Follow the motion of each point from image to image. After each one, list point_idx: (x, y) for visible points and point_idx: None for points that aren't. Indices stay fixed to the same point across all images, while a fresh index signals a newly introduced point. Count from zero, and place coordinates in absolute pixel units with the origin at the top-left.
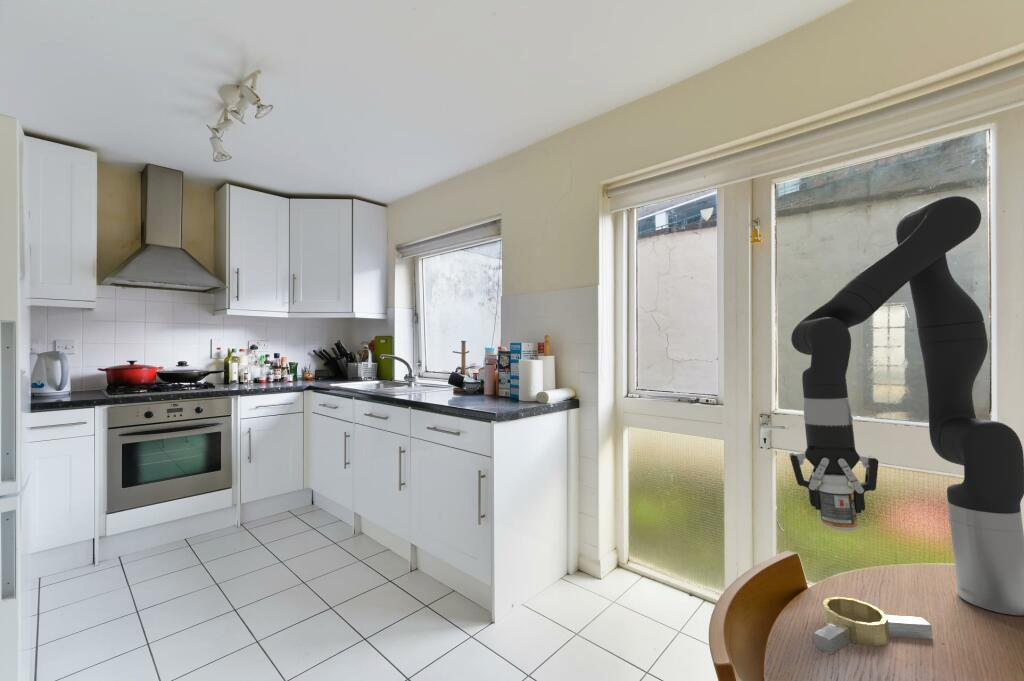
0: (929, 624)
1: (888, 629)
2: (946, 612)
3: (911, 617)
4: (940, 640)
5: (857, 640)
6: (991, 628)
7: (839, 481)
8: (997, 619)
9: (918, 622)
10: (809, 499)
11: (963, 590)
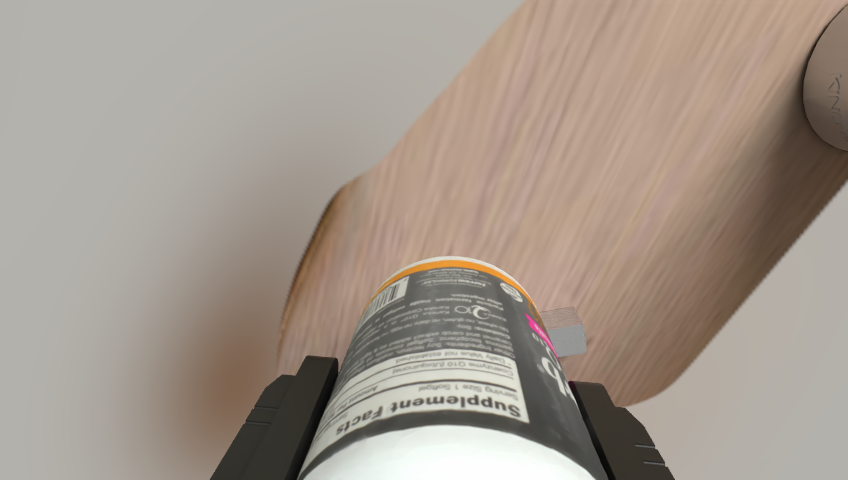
0: (583, 351)
1: None
2: (690, 188)
3: (559, 330)
4: (590, 331)
5: None
6: (748, 242)
7: None
8: (804, 186)
9: (563, 350)
10: (257, 404)
11: (830, 90)
